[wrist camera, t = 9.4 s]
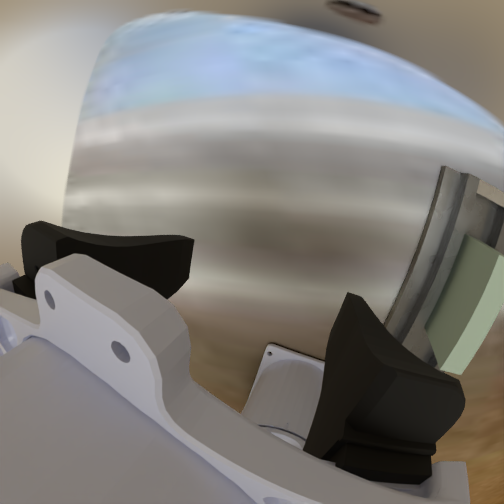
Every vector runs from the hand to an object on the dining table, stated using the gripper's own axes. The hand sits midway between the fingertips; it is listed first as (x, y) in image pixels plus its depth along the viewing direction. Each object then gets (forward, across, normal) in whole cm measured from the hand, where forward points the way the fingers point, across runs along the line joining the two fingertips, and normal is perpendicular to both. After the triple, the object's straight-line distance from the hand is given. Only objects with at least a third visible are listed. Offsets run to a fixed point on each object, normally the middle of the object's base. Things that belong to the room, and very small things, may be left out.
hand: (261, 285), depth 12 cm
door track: (+10, -13, +2) cm, 17 cm away
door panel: (+9, -13, 0) cm, 16 cm away
